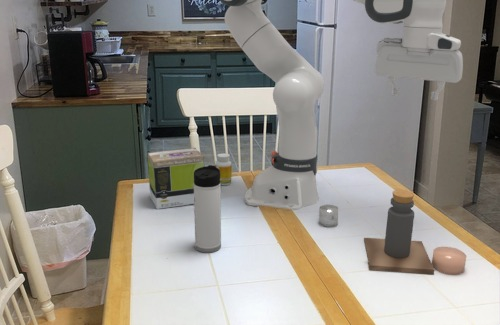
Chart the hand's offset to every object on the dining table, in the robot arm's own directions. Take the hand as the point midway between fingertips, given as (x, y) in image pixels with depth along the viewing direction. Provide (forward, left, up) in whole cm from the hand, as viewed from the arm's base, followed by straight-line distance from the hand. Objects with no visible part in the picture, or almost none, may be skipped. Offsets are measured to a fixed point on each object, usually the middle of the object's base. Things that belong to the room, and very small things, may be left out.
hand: (414, 97), depth 125 cm
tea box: (-63, +10, -35) cm, 73 cm away
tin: (-19, -1, -35) cm, 40 cm away
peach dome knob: (+8, -20, -35) cm, 41 cm away
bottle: (-3, -17, -34) cm, 38 cm away
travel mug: (-48, -18, -35) cm, 63 cm away
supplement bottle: (-52, +27, -35) cm, 69 cm away
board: (-3, -17, -35) cm, 39 cm away
